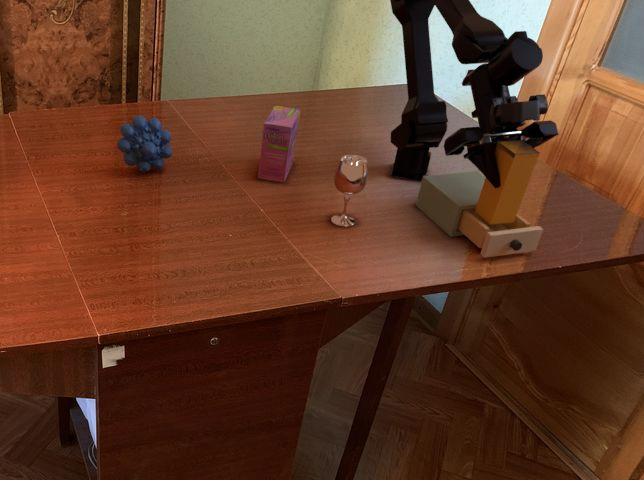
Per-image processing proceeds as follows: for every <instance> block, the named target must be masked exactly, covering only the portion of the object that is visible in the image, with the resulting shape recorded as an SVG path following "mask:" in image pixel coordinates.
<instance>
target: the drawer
mask: <svg viewBox="0 0 644 480" xmlns="http://www.w3.org/2000/svg"><path fill="white" fill-rule="evenodd" d="M457 229H458V230H459V231H461V232H462V233H463V234H464V235H463V236H465V237H466V238H467V239H469V241H471V242H472V243H473V244H474V245H475V246H477V247H478V248H479V249H481V251H480V256H482V257H483V258H490V257H491V258H492V257H498V256H499V257H500V256H505V255H512V254H513V255H514V254H521V253H529V252H536V251H537V248H538V245H539V243H540V240H541V238H542V234H543V232H544V228H543V227H542V226H540V225H536V226H531V223H530V222H529V221H528V220H527V219H525V218H524V217H523V216H521V215H520V214H519V213H517V215H516V218H515V220H514V223H503V224H489V223H488V222H487V221H485V220H484V219H483V218H482V217H481V216H480V215H478V214H477V213H476V212H475V209H466V210H462V212H461V215H460V219H459V222H458V226H457Z"/></svg>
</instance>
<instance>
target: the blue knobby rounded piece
mask: <svg viewBox="0 0 644 480" xmlns="http://www.w3.org/2000/svg"><path fill="white" fill-rule="evenodd" d="M162 126H163V125H162V122H161V121H160V120H159V119H158V118H156V117H151V118H149V119H148V120H147V118H145V117H144V116H143V115H139V114H137V115H136V116H134V117H133V118H132V122H131V123H127V122H125V123H122V125H121V126H120V130H119V131H120V134H121V136H122V137H120V138H118V140H117V142H116V147H117V149H118V150H119V151H120V152H121V153H124V154H123V158H122V159H123V161H124V163H125V164H126V165H127V166H129V167H134V166H136V168H137V170H138V171H139V172H140V173H149V171H150V170H151V168H153V167H154V168H153V169H154V170H157V171H158V170H162V169H163V168H164V166H165V161H164V159H169V158H171V157H172V155H173V149H172V147H171V145H170V142H172V134H171V131H169V130H168V129H165V128H163V127H162ZM149 168H150V169H149ZM140 169H142V170H140ZM147 169H148V170H147Z"/></svg>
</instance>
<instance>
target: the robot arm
mask: <svg viewBox="0 0 644 480" xmlns="http://www.w3.org/2000/svg"><path fill="white" fill-rule="evenodd" d="M389 1H390V8H391V12H392V15H393V16H394V17H395V18H396V20H397V21H398V22H399V25H401V30H402V31H401V32H402V42H403V53H404V63H405V64H404V66H405V77H406V87H407V89H406V90H407V101H406V104H405V106H404V107H403V111H402V113H401V119H400V121H401V123H400V124H399V125H397V126H396V127H395V128H393V130H391V131H390V143H391V144H392V145H393V146H395V147H396V148H397V149H396V153H395V157H394V161H393V164H392V168H391V172H390V176H391V177H394V178H398V179H405V180H411V181H419V182H422V179H423V176H427V175H428V174H427V173H428V169H429V167H430V166H429V165H430V162H431V156H432V152H431V151H430V149H431V148H435V149H436V148H439V146H440V145H441V142H442V140H443V139H444V137H445V135H446V134H447V130H448V122H449V118H448V116H447V115H448V114H447V103H446V100H439V99H438V98H437V96H436V94H435V86H434V74H433V63H432V61H433V59H432V49H431V37H430V24H429V19H430V16H431V14H432V12H433V10H434V9H435V7H436V10H437V11H438V12H439V13H440V15H441V17H442V18H443V19H444V21H445V23H446V25H447V26H448V28H449V30H450V31H451V33H452V42H451V47H452V49H453V51H454V54H455V56H456V59H457V61H458V62H459V63H460V64H461V65H478V66H477V67H476V68H474V69H468V70H467V71H466V75H465V77H464V78H463V79H462V82H461V86H462V87H470V91H471V95H472V101H473V104H474V110H473V111H471V112H470V113H471V118H472V119H477V123H478V126H470V127H469V126H468V127H460V128H459V129H457V130H456V131H455V132H453V133H452V134H451V135H449V136H448V137H447V138H445V140H444V143H443V149H444V155H445V156H446V157H449V156H450V157H451V156H459V155H461V154H463V152H464V151H465V147H466V151H467V152H466V153H465V154H463V155H462V157H463V159H465V160H466V159H467V160H469V161H470V162H471V164H473V166H475V168H477V170H479V171H480V172H481V174H482V176H484V177H485V178H487V179H488V181H489V182H490V183H491V184H492V185H493V186H494V188H498V187H500V186H501V184H500V175H499V171H498V166H497V161H496V156H495V152H496V147H497V143H498V142H503V141H524V142H525V143H527V144H528V145H530V146H531V147H533V148H534V149H535V148H537V147H540V146H541V145H543V144H545V143H547V142H549V141H550V140H552V139H554V138H556V137H557V136H558V135H560V134H559V131H558V127H557V123H556V122H555V121H553V120H551V119H550V120H540V119H541V118H540V116H541V115H547V113H548V111H549V110H548V109H549V104H548V103H549V102H548V100H547V96H546V94H545V93H543V94H535V95H530V96H529V98H528V100H524V101H519V98H518V97H517V96H516V95H512V96H511V93H510V88H509V87H511V86H513V85H514V86H515V84H517V83H519V82H520V81H521V80H522V79H524V78H525V77H526V76H528V75H529V74H531V73H532V72H533V71H535V70H536V69H537V68H539V67H540V66H541V64H542V62H543V57H544V55H543V54H544V53H543V49H542V48H541V47H540V45H539V44H538V43H537V42H536V41H535V40H534V39H532V38H530V37H528V32H527V31H526V30H518V31H516V30H515V31H514V32H513V33H512V34H511V35H510V36H509V37H506V34H505V32H504V31H503V29H502V28H501V27H500V26H499V25H498V24H496V23H495V22H494V21H493V20H491V19H489V18H486V17H484V16H482V15H481V14H479V12H478V11H477V10H476V8H475V7H474V4H473V3H472V2H471V1H470V0H389ZM479 64H480V65H479ZM527 121H533V122H532V123H530V124H529V125H527V126H525V125H526V124H527V123H526V122H527ZM524 126H525V127H524ZM521 127H524V128H522V129H518V128H521Z"/></svg>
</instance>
